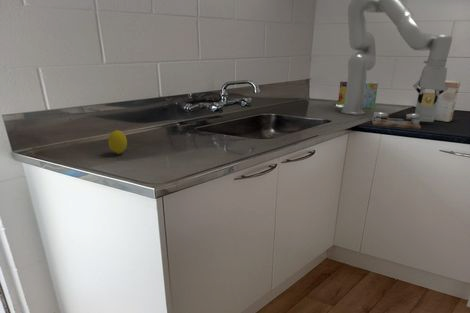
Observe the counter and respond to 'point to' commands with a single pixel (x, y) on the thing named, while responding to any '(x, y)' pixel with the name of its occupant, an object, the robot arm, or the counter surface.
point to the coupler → (427, 99)
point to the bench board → (386, 123)
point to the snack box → (368, 95)
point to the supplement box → (426, 112)
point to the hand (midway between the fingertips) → (426, 102)
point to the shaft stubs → (394, 121)
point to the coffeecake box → (446, 101)
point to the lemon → (117, 141)
